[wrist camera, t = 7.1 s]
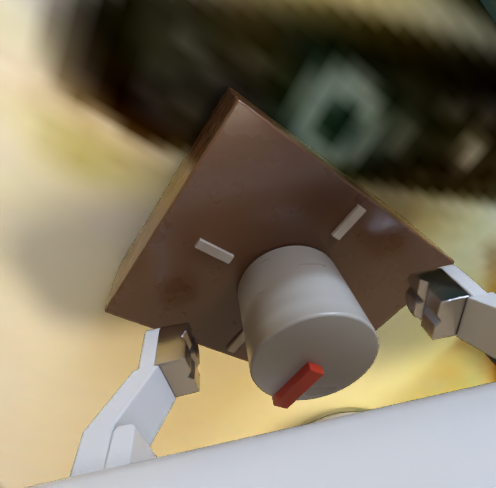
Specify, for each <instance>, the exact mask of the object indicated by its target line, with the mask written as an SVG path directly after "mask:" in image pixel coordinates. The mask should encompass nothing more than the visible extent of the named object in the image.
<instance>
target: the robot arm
mask: <svg viewBox="0 0 496 488" xmlns="http://www.w3.org/2000/svg"><path fill="white" fill-rule="evenodd" d="M408 283H409V285H410V287H409V289H408V290H407V291H406V298H405V299H406V303H407V306H408V308H409V310H410V312H411V313H412V314H413V316H415V317H417V318H419V319H421V320H422V321H421V326H422V327H423V328H424V330H425V331H426V332H427V334H428V335H429V336H430V337H431V339H432V340H434V339H439V338H444V337H450V336H455V335H457V337H458V338H460V339H462V340H463V341H465V342H467V343H469V344H470V345H472V346H474V347H476V348H477V349H479V350H481V351H482V352H484V353H486V354H488V355H489V356H491V357H493V358H495V359H496V294H495V293H492V292H490V293H487V292H485V291H484V290H483V289H482V288H481V287H480V286H478V285H477V284H476V283H475V282H474V281H473V280H471V279H470V278H469V277H468V276H467V275H466V274H465V273H463V272H462V271H461V270H460V269H459V268H458V267H456V266H455V265H452V264H451V265H446V266H442V267H438V268H433V269H429V270H425V271H420V272H416V273H411V274H410V275H409V277H408ZM199 363H200V360H199V349H198V344H197V341H196V338H195V337H194V336H192V328H191V326H190V324H189V323H188V322H187V323H181V324H176V325H171V326H166V327H161V328H157V329H152V330H147V331H146V333H145V335H144V341H143V346H142V351H141V356H140V362H139V367H138V370H134V371H133V372H132V373H131V375H130V376H129V377H128V378H127V380H126V381H125V382H124V383H123V384H122V386H121V387H120V388H119V389H118V391H117V392H116V393H115V394H114V395H113V397H112V398H111V399H110V400H109V401H108V403H107V404H106V405H105V406H104V408H103V409H102V410H101V411H100V412H99V414H98V415H97V416H96V417H95V418H94V420H93V421H92V422H91V423H90V425H89V426H88V427H87V428H86V429H85V431H84V432H83V434H82V437H81V441H80V444H79V447H78V451H77V454H76V457H75V461H74V464H73V467H72V471H71V474H70V477H69V478H64V479H60V480H55V481H51V482H46V483H42V484H37V485H33V486H28V487H24V488H496V382H492V383H487V384H483V385H478V386H474V387H469V388H465V389H461V390H456V391H452V392H447V393H443V394H438V395H434V396H429V397H425V398H421V399H416V400H412V401H407V402H403V403H398V404H394V405H389V406H385V407H381V408H376V409H372V410H367V411H363V412H358V413H354V414H349V415H345V416H341V417H336V418H332V419H327V420H323V421H318V422H314V423H309V424H305V425H301V426H296V427H292V428H287V429H283V430H278V431H274V432H269V433H265V434H260V435H256V436H252V437H247V438H243V439H238V440H234V441H229V442H225V443H220V444H216V445H211V446H207V447H203V448H198V449H194V450H189V451H185V452H180V453H176V454H171V455H167V456H162V457H158V458H157V457H156V455H155V454H154V452H153V451H152V449H151V448H150V445H151V444H152V442H153V440H154V438H155V436H156V434H157V433H158V431H159V429H160V427H161V425H162V423H163V422H164V420H165V418H166V416H167V414H168V412H169V411H170V409H171V407H172V405H173V403H174V401H175V400H176V398H175V397H179V396H183V395H187V394H191V393H195V392H199V390H200V374H199V372H198V369H197V366H198V365H199Z"/></svg>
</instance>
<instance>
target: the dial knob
mask: <svg viewBox="0 0 496 488" xmlns="http://www.w3.org/2000/svg"><path fill="white" fill-rule="evenodd" d="M238 300H239V306H240V313H241V319H242V325H243V331H244V337H245V344H246V350H247V356H248V362H249V368H250V373H251V377H252V379H253V381H254V382H255V384H256V385H257V386H258V387H259V388H260V389H261V390H262V391H263V392H265V393H266V394H269V395H271V396H272V400H273V405H274V406H278V407H282V408H288V407H289V406H290V405H292V404H293V403H294V402H295V401H296V400H308V399H314V398H319V397H323V396H326V395H329V394H332V393H335V392H337V391H339V390H341V389H343V388H345V387H347V386H349V385H350V384H352V383H353V382H355V381H356V380H358V379H359V378H360V377H361V376H362V375H363V374H364V373H366V371H367V370H368V369H369V368H370V367H371V365H372V364H373V362H374V360H375V358H376V356H377V353H378V348H379V341H378V336H377V333H376V331H375V329H374V327H373V326H372V324H371V322H370V321H369V319H368V317H367V316H366V314H365V313H364V311H363V309H362V308H361V306H360V305H359V303H358V301H357V300H356V298H355V296H354V295H353V293H352V292H351V290H350V288H349V287H348V285H347V283H346V282H345V280H344V279H343V277H342V275H341V274H340V272H339V271H338V269H337V267H336V266H335V264H334V262H333V261H332V260H331V259H330V258H329V257H328V256H327V255H326V254H324V253H323V252H321V251H319V250H317V249H315V248H311V247H307V246H296V245H294V246H286V247H281V248H277V249H274V250H272V251H269V252H267V253H265V254H264V255H262V256H260V257H259V258H257V259H256V260H255V261H254V262H253V263H252V264H250V266H249V267H248V268H247V269H246V271H245V272H244V274H243V275H242V278H241V280H240V282H239V286H238Z"/></svg>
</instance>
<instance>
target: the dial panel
mask: <svg viewBox="0 0 496 488" xmlns="http://www.w3.org/2000/svg"><path fill="white" fill-rule="evenodd" d="M294 245H296V246H307V247H311V248H315V249H317V250H319V251H321V252H323V253H324V254H326V255H327V256H328V257H329V258H330V259H331V260H332V261H333V262H334V264H335V266H336V267H337V269H338V271H339V272H340V274H341V275H342V277H343V279H344V280H345V282H346V283H347V285H348V287H349V288H350V290H351V292H352V293H353V295H354V296H355V298H356V300H357V301H358V303H359V305H360V306H361V308H362V309H363V311H364V313H365V314H366V316H367V317H368V319H369V321H370V322H371V324H372V326H373V327H374V329H375V331H376V330H377V329H378V328H379V327H381V326H382V325H383V324H384V323H385V322H386V321H388V320H389V319H390V318H391V317H392V316H393V315H395V314H396V313H397V312H398V311H399V310H400V309H402V308H403V307H404V306H405V305H406V304H407V303H406V299H405V298H406V291H407V290H408V289H409V287H410V285H409V283H408V277H409V275H410V274H411V273H416V272H420V271H425V270H429V269H433V268H438V267H442V266H446V265H451V264H452V265H453V264H454V260H452V259H451V258H450V257H449V256H448V255H447V254H445V253H444V252H443V251H442V250H441V249H440V248H438V247H437V246H436V245H435V244H434V243H433V242H431V241H430V240H429V239H428V238H427V237H426V236H424V235H423V234H422V233H421V232H420V231H419V230H417V229H416V228H415V227H414V226H412V225H411V224H410V223H409V222H407V221H406V220H405V219H403V218H402V217H401V216H399V215H398V214H397V213H395V212H394V211H393V210H391V209H390V208H389V207H388V206H386V205H385V204H384V203H382V202H381V201H380V200H378V199H377V198H376V197H374V196H373V195H372V194H370V193H369V192H368V191H367V190H365V189H364V188H363V187H361V186H360V185H359V184H357V183H356V182H355V181H353V180H352V179H351V178H350V177H348V176H347V175H346V174H344V173H343V172H342V171H340V170H339V169H338V168H336V167H335V166H334V165H332V164H331V163H330V162H329V161H327V160H326V159H325V158H323V157H322V156H321V155H319V154H318V153H317V152H315V151H314V150H313V149H312V148H310V147H309V146H308V145H306V144H305V143H304V142H302V141H301V140H300V139H298V138H297V137H296V136H294V135H293V134H292V133H291V132H289V131H288V130H287V129H285V128H284V127H283V126H281V125H280V124H279V123H277V122H276V121H275V120H274V119H272V118H271V117H270V116H268V115H267V114H266V113H264V112H263V111H262V110H260V109H259V108H258V107H256V106H255V105H254V104H253V103H251V102H250V101H249V100H247V99H246V98H245V97H243V96H242V95H241V94H239V93H238V92H237V91H235V90H234V89H233V88H232V87H228V88H227V89H226V91H225V93H224V94H223V96H222V98H221V99H220V101H219V102H218V104H217V106H216V107H215V109H214V111H213V112H212V114H211V116H210V117H209V119H208V121H207V122H206V124H205V126H204V127H203V129H202V131H201V132H200V134H199V135H198V137H197V139H196V140H195V142H194V144H193V145H192V147H191V149H190V150H189V152H188V154H187V155H186V157H185V159H184V160H183V162H182V164H181V165H180V167H179V168H178V170H177V172H176V173H175V175H174V177H173V178H172V180H171V182H170V183H169V185H168V187H167V188H166V190H165V192H164V193H163V195H162V197H161V198H160V200H159V201H158V203H157V205H156V206H155V208H154V210H153V211H152V213H151V215H150V216H149V218H148V220H147V221H146V223H145V225H144V226H143V228H142V229H141V231H140V233H139V234H138V236H137V238H136V239H135V241H134V243H133V244H132V246H131V248H130V249H129V251H128V253H127V254H126V256H125V258H124V259H123V261H122V262H121V264H120V266H119V269H118V272H117V275H116V278H115V281H114V284H113V287H112V290H111V293H110V295H109V298H108V301H107V304H106V307H105V312H107V313H110V314H113V315H115V316H118V317H121V318H124V319H127V320H130V321H133V322H136V323H138V324H141V325H144V326H147V327H150V328H153V329H157V328H161V327H166V326H171V325H176V324H181V323H187V322H188V323H189V324H190V326H191V328H192V336H194V337H195V338H196V341H197V344H199V345H202V346H205V347H208V348H210V349H213V350H216V351H219V352H222V353H225V354H228V355H231V356H233V357H236V358H239V359H242V360H245V361H248V356H247V350H246V344H245V337H244V331H243V325H242V319H241V313H240V306H239V300H238V286H239V282H240V280H241V278H242V275H243V274H244V272H245V271H246V269H247V268H248V267H249V266H250V264H252V263H253V262H254V261H255V260H256V259H257V258H259V257H260V256H262V255H264V254H265V253H267V252H269V251H272V250H274V249H277V248H281V247H286V246H294Z"/></svg>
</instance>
